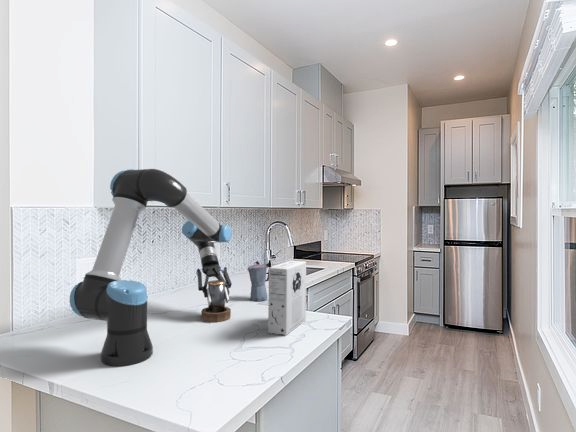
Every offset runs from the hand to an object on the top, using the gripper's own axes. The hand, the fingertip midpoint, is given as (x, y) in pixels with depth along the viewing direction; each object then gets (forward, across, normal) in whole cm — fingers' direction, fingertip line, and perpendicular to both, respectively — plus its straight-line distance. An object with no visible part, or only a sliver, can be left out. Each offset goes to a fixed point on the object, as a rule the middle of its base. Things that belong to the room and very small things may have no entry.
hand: (218, 302), depth 157 cm
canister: (0, 0, -5) cm, 5 cm away
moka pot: (-13, -29, -24) cm, 40 cm away
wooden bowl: (+3, 0, -8) cm, 8 cm away
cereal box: (+20, -23, +8) cm, 31 cm away
